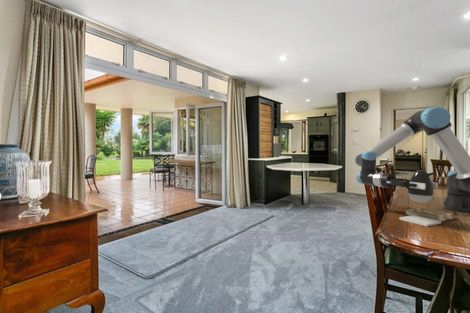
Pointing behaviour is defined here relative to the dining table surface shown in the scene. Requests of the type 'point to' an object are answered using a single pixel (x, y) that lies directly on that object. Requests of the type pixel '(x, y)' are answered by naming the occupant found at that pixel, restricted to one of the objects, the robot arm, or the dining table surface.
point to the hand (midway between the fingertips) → (431, 186)
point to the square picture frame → (440, 215)
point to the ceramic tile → (420, 220)
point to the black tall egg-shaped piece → (421, 194)
